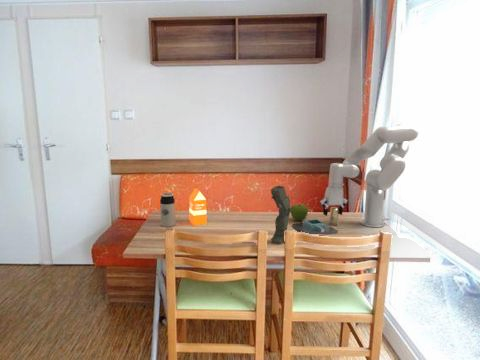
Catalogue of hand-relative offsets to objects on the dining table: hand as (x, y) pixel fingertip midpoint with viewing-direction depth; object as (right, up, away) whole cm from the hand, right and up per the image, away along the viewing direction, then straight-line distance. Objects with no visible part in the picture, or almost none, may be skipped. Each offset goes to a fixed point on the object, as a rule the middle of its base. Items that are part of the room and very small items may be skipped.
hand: (332, 214), depth 205 cm
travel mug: (-94, -6, 0) cm, 94 cm away
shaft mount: (-12, -8, -7) cm, 16 cm away
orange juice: (-77, -5, +4) cm, 78 cm away
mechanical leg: (-33, -11, -24) cm, 42 cm away
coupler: (+1, -6, +1) cm, 6 cm away
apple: (-18, -4, +10) cm, 21 cm away
